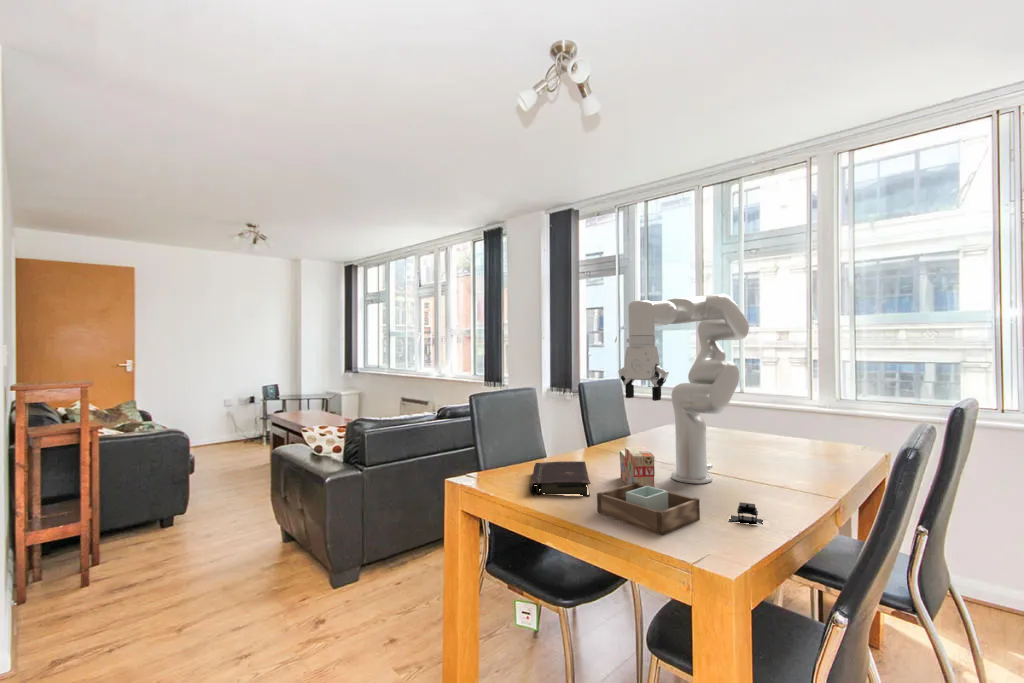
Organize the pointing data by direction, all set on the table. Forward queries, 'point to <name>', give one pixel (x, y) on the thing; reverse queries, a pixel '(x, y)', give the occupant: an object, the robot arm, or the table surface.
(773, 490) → the table surface
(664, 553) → the table surface
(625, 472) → the stack of blocks
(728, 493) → the table surface
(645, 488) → the small crate
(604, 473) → the table surface
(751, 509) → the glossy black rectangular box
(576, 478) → the diary
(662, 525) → the big crate
